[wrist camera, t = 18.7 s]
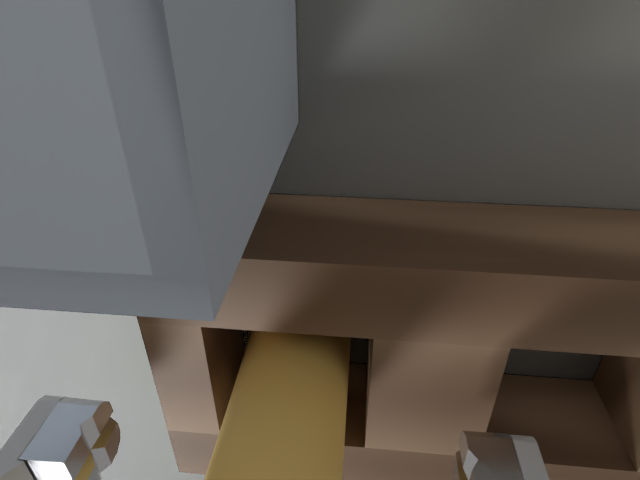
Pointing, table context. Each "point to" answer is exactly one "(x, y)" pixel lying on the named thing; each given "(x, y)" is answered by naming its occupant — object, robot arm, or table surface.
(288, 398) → the peg
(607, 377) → the socket board
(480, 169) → the table surface
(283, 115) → the cover
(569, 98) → the table surface
